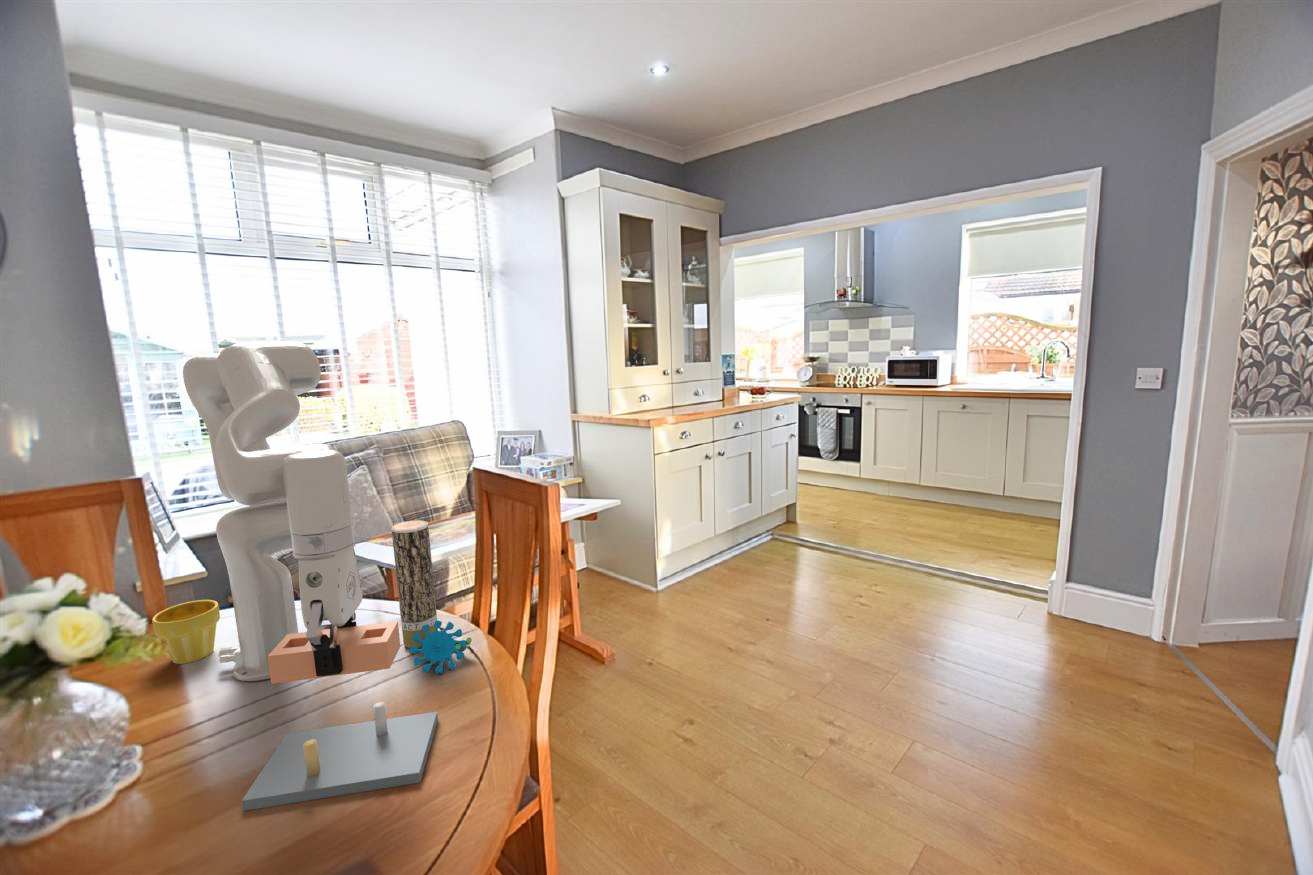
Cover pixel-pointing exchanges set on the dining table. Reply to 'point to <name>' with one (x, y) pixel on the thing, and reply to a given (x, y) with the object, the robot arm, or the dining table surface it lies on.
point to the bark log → (414, 579)
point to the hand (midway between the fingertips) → (338, 659)
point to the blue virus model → (439, 647)
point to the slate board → (345, 760)
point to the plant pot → (188, 629)
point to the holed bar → (358, 652)
